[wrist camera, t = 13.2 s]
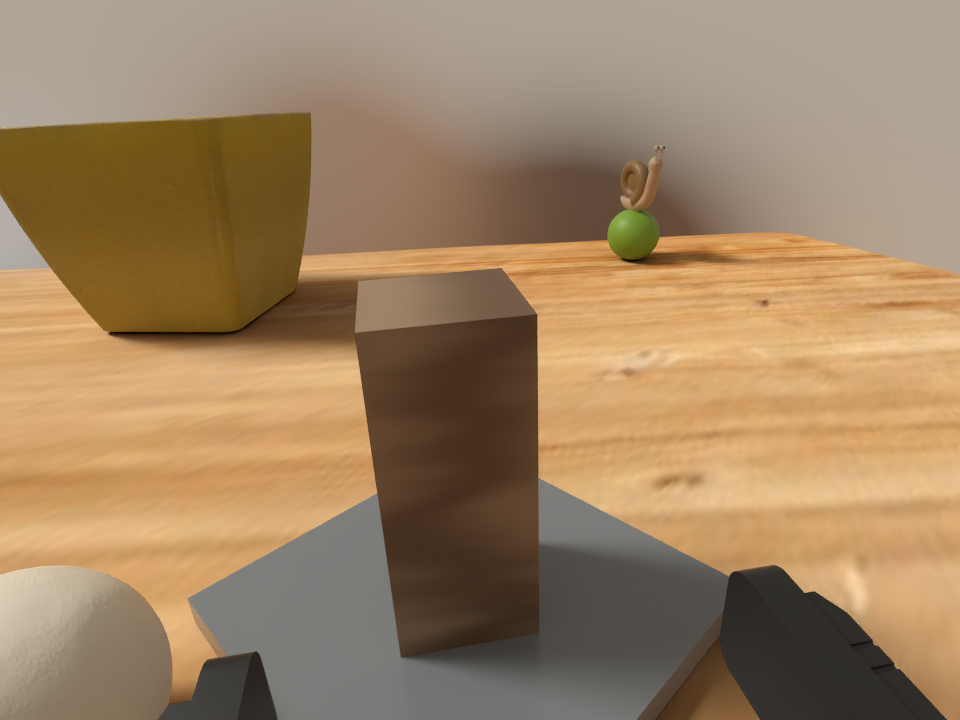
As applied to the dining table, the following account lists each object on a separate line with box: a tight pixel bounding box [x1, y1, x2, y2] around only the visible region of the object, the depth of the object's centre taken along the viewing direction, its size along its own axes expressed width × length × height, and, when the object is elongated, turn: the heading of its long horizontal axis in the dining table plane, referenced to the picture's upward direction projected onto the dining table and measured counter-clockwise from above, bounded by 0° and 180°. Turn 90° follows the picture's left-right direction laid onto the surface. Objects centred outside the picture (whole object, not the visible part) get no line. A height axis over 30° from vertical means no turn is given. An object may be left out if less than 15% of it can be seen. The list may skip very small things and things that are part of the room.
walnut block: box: [355, 268, 539, 657], centre depth 19 cm, size 4×4×11 cm
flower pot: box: [0, 112, 311, 332], centre depth 52 cm, size 19×19×17 cm
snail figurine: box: [608, 145, 665, 260], centre depth 63 cm, size 5×6×12 cm
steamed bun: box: [0, 566, 172, 720], centre depth 15 cm, size 7×7×7 cm
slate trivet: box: [187, 478, 729, 720], centre depth 21 cm, size 14×14×1 cm
